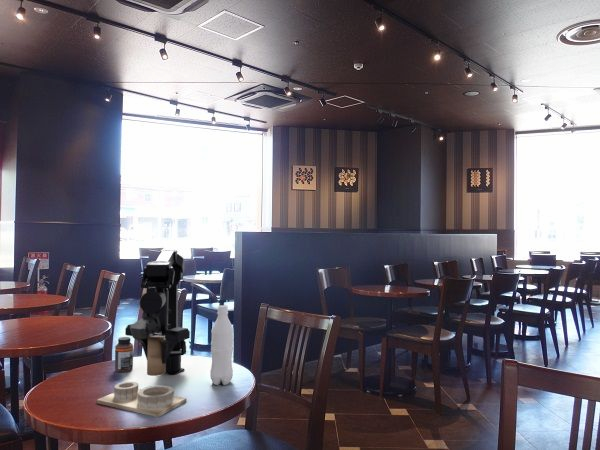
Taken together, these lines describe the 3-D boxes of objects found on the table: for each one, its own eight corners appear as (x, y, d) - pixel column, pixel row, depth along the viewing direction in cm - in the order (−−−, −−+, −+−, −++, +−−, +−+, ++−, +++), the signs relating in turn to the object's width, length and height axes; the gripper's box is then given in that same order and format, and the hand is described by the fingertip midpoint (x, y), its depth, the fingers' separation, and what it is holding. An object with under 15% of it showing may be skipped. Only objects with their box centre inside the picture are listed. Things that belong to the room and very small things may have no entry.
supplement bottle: (115, 368, 160) (116, 336, 160) (133, 367, 161) (133, 335, 162) (113, 373, 154) (114, 340, 154) (132, 372, 156) (133, 339, 156)
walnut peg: (155, 369, 130) (156, 334, 130) (169, 371, 128) (170, 336, 128) (143, 374, 125) (143, 338, 126) (157, 376, 123) (157, 340, 124)
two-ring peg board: (128, 389, 138) (128, 376, 139) (186, 401, 130) (186, 387, 130) (96, 403, 128) (97, 389, 128) (157, 417, 119) (158, 402, 119)
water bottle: (227, 387, 142) (229, 308, 142) (206, 385, 143) (208, 307, 144) (235, 380, 149) (237, 304, 149) (215, 378, 150) (216, 303, 151)
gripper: (110, 308, 123) (109, 365, 123) (164, 314, 116) (163, 375, 116) (140, 302, 134) (139, 355, 133) (191, 308, 126) (190, 363, 126)
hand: (156, 362), depth 127 cm, fingers closed on walnut peg, 5 cm apart
